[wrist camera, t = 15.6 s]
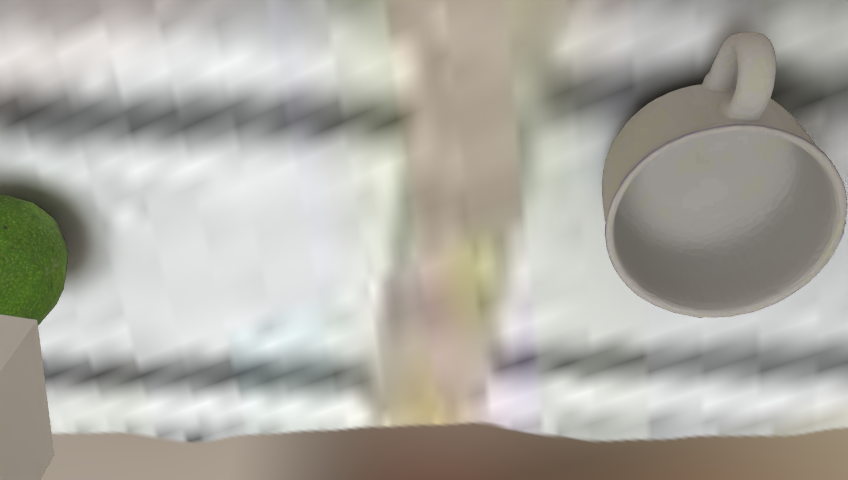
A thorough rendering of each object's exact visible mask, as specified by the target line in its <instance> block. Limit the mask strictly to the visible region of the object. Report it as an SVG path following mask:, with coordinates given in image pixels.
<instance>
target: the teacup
mask: <svg viewBox="0 0 848 480" xmlns="http://www.w3.org/2000/svg"><path fill="white" fill-rule="evenodd" d="M775 74H776V59H775V52H774V48H773V46H772V43H771V41H770V40H769V39H768V38H767V37H766V36H765V35H764V34H760V33H756V32H742V33H736V34H733V35H732V36H730V37H728V38H727V40H726V41H725V42H724V43H723V44H722V46H721V47H720V49H719V51H718V54H717V56H716V58H715V60H714V63H713V65H712V67H711V70H710V72H709V73H708V74H707V75H706V76H705V78H704V81H703V84H701V85H693V86H689V87H685V88H681V89H678V90H675V91H672V92H669V93H667V94H665V95H663V96H661V97H659V98H657V99H655V100H653V101H652V102H650V103H648V104H647V105H646V106H644V107H643V108H642V109H640V110H639V111H638V112H637V113H636V114H635V115H634V116H633V117H631V118H630V120H629V121H628V122H627V123H626V124H625V125H624V126H623V128H622V129H621V131H620V132H619V134H618V135H617V136H616V138H615V140H614V142H613V144H612V146H611V148H610V150H609V153H608V155H607V158H606V161H605V166H604V170H603V179H602V197H603V208H604V216H605V222H606V224H605V238H606V245H607V250H608V254H609V257H610V260H611V262H612V264H613V267H614V269H615V270H616V272H617V273H618V275H619V276H620V278H621V279H622V280H623V282H624V283H625V284H626V285H627V286H628V287H629V288H630V289H631V290H632V291H633V292H634V293H636V294H637V295H638V296H640V297H641V298H643V299H644V300H646V301H648V302H650V303H652V304H653V305H656V306H658V307H661V308H663V309H666V310H668V311H671V312H674V313H679V314H683V315H688V316H693V317H698V318H702V317H730V316H735V315H739V314H744V313H750V312H754V311H757V310H760V309H763V308H765V307H767V306H770V305H773V304H775V303H777V302H779V301H781V300H783V299H784V298H786V297H788V296H790V295H791V294H793V293H795V292H796V291H797V290H799V289H800V288H801V287H803V286H804V285H806V284H807V283H808V282H809V281H811V279H812V278H813V277H814V276H816V275H817V274H818V273H819V272H820V271H821V269H822V268H823V267H824V266H825V265H826V264H827V263H828V261H829V260H830V258H831V257H832V255H833V253H834V251H835V249H836V248H837V246H838V244H839V242H840V240H841V238H842V235H843V233H844V227H845V224H846V220H845V217H846V214H847V213H846V209H847V203H846V199H847V197H846V191H845V187H844V184H843V181H842V179H841V177H840V175H839V173H838V172H837V170H836V168H835V166H834V165H833V163H832V162H831V160H830V159H829V158H828V157H827V156H826V154H825V153H823V152H822V151H821V150H820V149H819V148H818V147H817V146H816V145H815V143H814V142H813V141H812V139H811V138H810V137H809V135H808V134H807V133H806V131H805V130H804V129H803V128H802V126H801V125H800V124H799V123H798V122H797V121H796V120H795V118H794V117H793V116H792V115H791V114H790V113H789V112H788V111H786V110H785V109H784V108H783V107H782V106H781V105H779V104H778V103H776V102H775V101H774V100H772V99H771V95H772V92H773V88H774V82H775Z"/></svg>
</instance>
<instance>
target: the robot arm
mask: <svg viewBox="0 0 848 480" xmlns="http://www.w3.org/2000/svg"><path fill="white" fill-rule="evenodd" d="M53 456H54V450H53V442H52V434H51V426H50V418H49V410H48V402H47V395H46V387H45V379H44V371H43V363H42V355H41V347H40V339H39V331H38V323H37V320H34V319H27V318H21V317H14V316H7V315H0V480H41V478H42V476H43V474H44V473H45V471H46V469H47V467H48V465H49V464H50V461H51V460H52V458H53Z"/></svg>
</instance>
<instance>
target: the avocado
mask: <svg viewBox="0 0 848 480" xmlns="http://www.w3.org/2000/svg"><path fill="white" fill-rule="evenodd" d="M67 259H68V249H67V246H66V243H65V240H64V238H63V235H62V233H61V230H60V228H59V226H58V224H57V222H56V221H55V219H54V218H53V217H51V216H50V215H49V214H48V213H46V212H45V211H44V210H42V209H41V208H39V207H38V206H37V205H35V204H34V203H33V202H29V201H25V200H21V199H18V198H15V197H11V196H8V195H0V315H7V316H14V317H21V318H27V319H34V320H37V323H38V325H39V324H40V323H41V322H42V320H43V319H44V318H45V317H46V316H47V315H48V314H49V312H50V311H51V310H52V309H53V308H54V307H55V305H56V304H57V302H58V300H59V298H60V295H61V293H62V291H63V289H64V283H65V276H66V270H67Z"/></svg>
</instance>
